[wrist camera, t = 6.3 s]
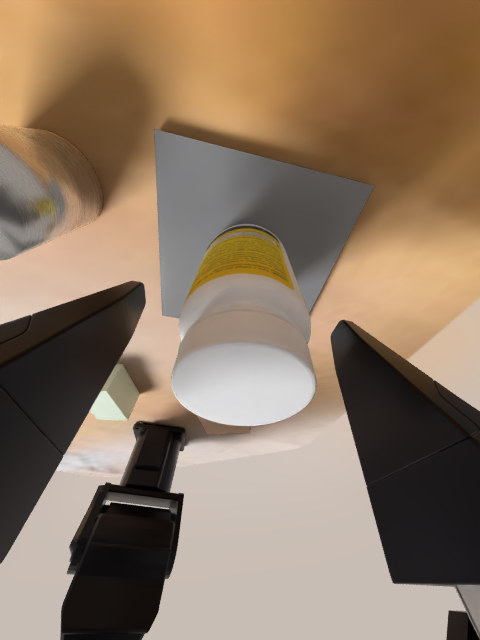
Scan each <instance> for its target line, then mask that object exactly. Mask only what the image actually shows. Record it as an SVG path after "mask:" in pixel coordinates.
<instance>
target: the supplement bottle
mask: <svg viewBox="0 0 480 640" xmlns="http://www.w3.org/2000/svg"><path fill="white" fill-rule="evenodd" d="M179 332H180V337H181V340H182V341H181V343H180V346H179V349H178V355H177V358H176V362H175V365H174V368H173V372H172V377H171V385H172V389H173V392H174V395H175V396H176V398H177V399H178V401H179V402H180V403H181V404H182V405H183V406H184V407H185V408H187V409H188V410H189V411H191V412H192V413H194V414H196V415H198V416H200V417H202V418H205V419H207V420H210V421H214V422H217V423H221V424H227V425H236V426H257V425H265V424H270V423H274V422H278V421H281V420H284V419H286V418H289V417H291V416H293V415H294V414H296V413H298V412H299V411H301V410H302V409H303V408H305V407H306V406H307V405H308V404H309V402H310V401H311V399H312V398H313V396H314V393H315V390H316V376H315V372H314V368H313V364H312V360H311V357H310V352H309V348H308V345H307V344H308V342H309V338H310V333H311V322H310V316H309V312H308V308H307V306H306V303H305V300H304V298H303V295H302V293H301V290H300V288H299V285H298V283H297V280H296V277H295V275H294V272H293V269H292V266H291V264H290V261H289V259H288V256H287V253H286V250H285V248H284V246H283V244H282V243H281V241H280V240H279V239H278V238H277V237H276V236H275V235H274V234H273V233H272V232H270V231H269V230H267V229H265V228H263V227H261V226H258V225H254V224H239V225H235V226H232V227H229V228H227V229H225V230H223V231H222V232H221V233H219V234H218V235H217V236H216V237H215V238H214V239H213V241H212V242H211V243H210V245H209V247H208V248H207V250H206V253H205V256H204V258H203V261H202V262H201V265H200V267H199V270H198V272H197V275H196V277H195V279H194V281H193V284H192V286H191V289H190V291H189V293H188V296H187V298H186V300H185V302H184V305H183V307H182V310H181V314H180V320H179Z"/></svg>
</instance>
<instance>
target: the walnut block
mask: <svg viewBox="0 0 480 640" xmlns="http://www.w3.org/2000/svg"><path fill="white" fill-rule="evenodd" d="M197 417H198V419H199V420H200V422H201V424H202V426H203V428H204V429H205V431H206V433H207V434H239V433H250V426H236V425H227V424H221V423H217V422H214V421H210V420H207V419H205V418H202V417H200V416H198V415H197Z"/></svg>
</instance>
